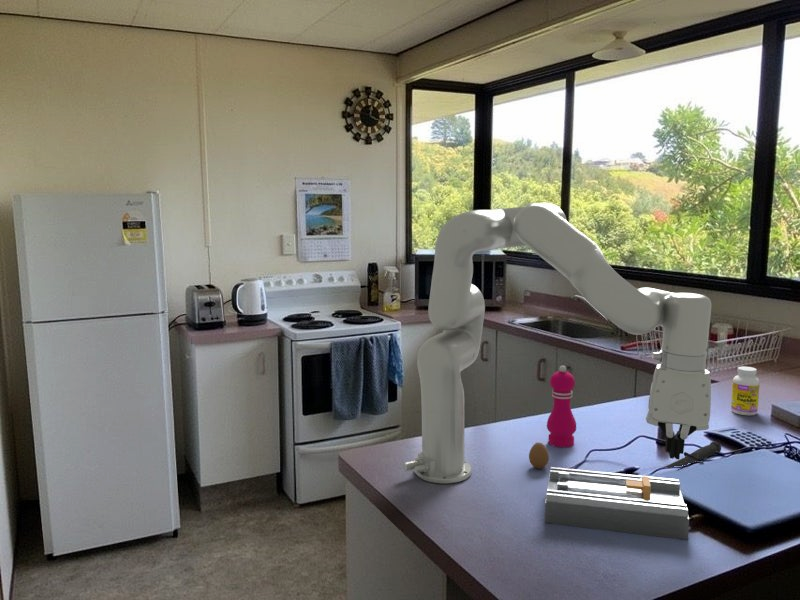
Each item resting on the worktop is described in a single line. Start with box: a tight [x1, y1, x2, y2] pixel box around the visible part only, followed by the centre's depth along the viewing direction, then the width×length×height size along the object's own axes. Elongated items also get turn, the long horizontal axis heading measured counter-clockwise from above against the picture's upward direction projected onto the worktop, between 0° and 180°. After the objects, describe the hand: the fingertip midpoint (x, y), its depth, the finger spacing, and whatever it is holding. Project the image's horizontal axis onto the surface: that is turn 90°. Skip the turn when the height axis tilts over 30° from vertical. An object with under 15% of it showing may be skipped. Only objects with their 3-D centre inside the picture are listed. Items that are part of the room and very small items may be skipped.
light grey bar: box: [561, 479, 642, 499], centre depth 124 cm, size 15×3×1 cm, turn 74°
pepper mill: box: [546, 365, 577, 448], centre depth 159 cm, size 7×7×20 cm
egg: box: [528, 442, 550, 470], centre depth 146 cm, size 4×4×6 cm
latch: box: [626, 475, 651, 500], centre depth 122 cm, size 4×4×3 cm
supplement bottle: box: [730, 365, 761, 417], centre depth 180 cm, size 7×7×13 cm
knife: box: [662, 440, 722, 468], centre depth 148 cm, size 24×5×3 cm, turn 119°
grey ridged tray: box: [544, 466, 690, 541], centre depth 124 cm, size 25×14×6 cm, turn 74°
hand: (673, 456), depth 120 cm, fingers closed
